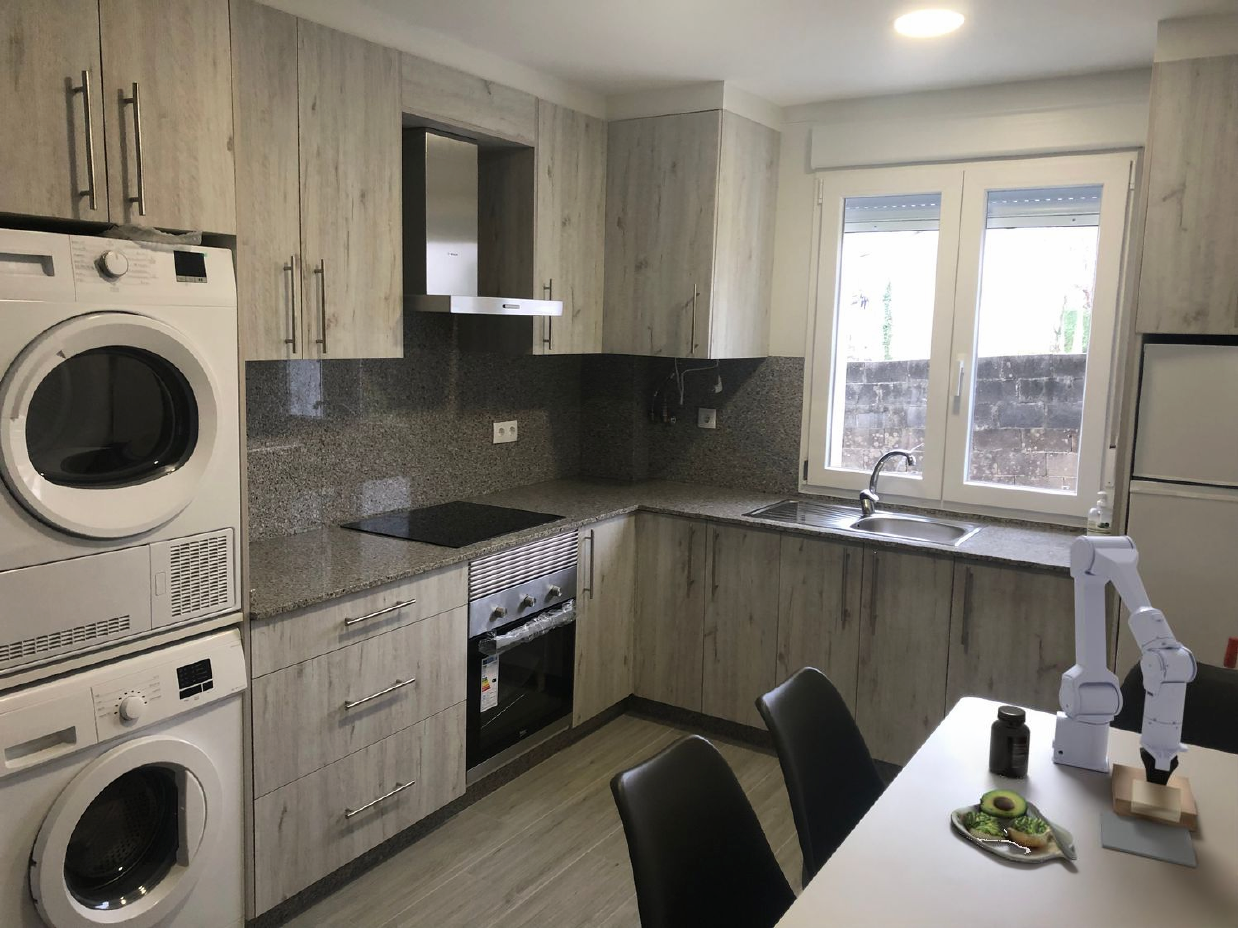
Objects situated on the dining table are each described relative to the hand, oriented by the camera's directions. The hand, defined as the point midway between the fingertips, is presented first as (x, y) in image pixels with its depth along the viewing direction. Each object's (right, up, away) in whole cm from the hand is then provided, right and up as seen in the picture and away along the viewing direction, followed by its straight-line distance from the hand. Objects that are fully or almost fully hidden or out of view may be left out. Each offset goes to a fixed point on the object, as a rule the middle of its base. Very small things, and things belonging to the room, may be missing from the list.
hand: (1154, 793), depth 163 cm
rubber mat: (-6, -5, -8) cm, 11 cm away
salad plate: (-27, -5, -7) cm, 29 cm away
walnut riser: (+2, -3, +4) cm, 6 cm away
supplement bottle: (-19, -1, +16) cm, 24 cm away
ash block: (-2, -1, -3) cm, 3 cm away
